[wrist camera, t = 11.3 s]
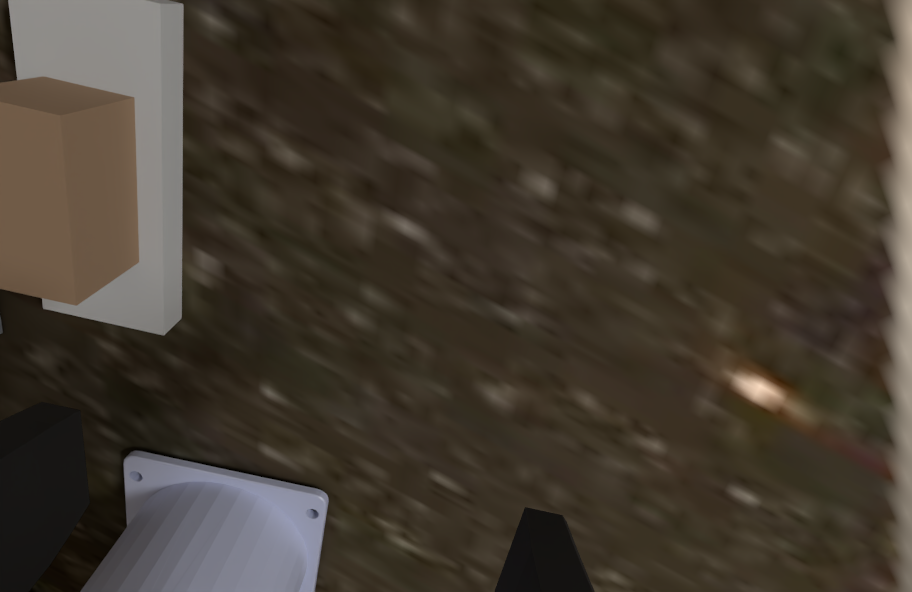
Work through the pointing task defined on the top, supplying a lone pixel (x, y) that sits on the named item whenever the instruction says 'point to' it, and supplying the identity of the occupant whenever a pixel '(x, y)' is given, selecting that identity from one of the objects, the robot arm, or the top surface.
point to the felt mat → (1, 327)
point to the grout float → (94, 160)
